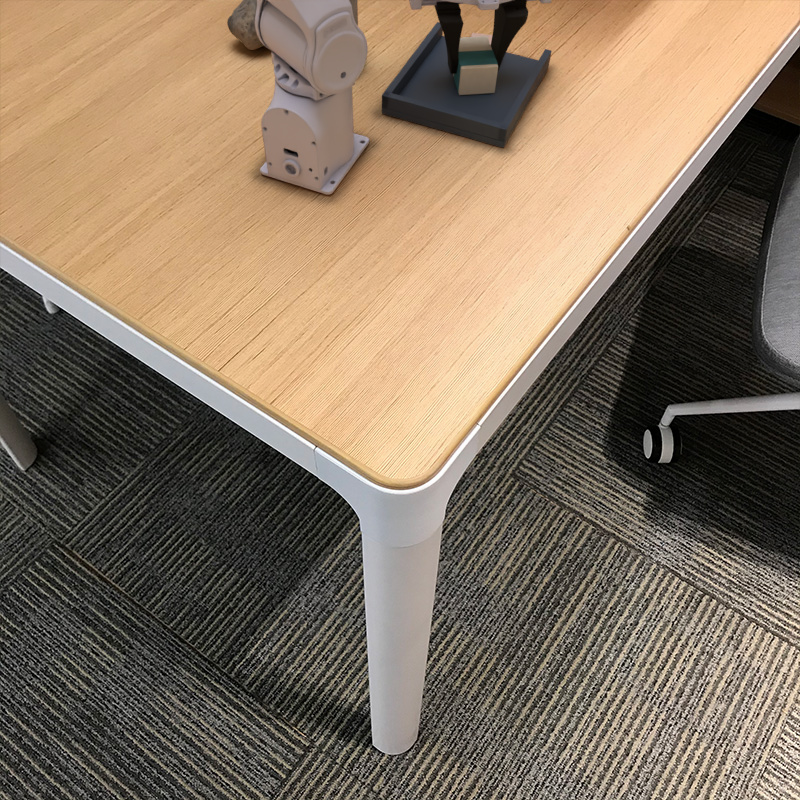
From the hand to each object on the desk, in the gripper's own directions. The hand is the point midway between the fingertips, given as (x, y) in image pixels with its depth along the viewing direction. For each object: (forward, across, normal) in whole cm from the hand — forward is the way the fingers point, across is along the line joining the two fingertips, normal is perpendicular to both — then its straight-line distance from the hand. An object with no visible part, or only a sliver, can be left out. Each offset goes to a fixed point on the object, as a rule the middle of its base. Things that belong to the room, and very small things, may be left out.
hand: (472, 67), depth 85 cm
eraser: (+1, 0, 0) cm, 1 cm away
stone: (+2, -21, +11) cm, 24 cm away
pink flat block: (+2, +3, +5) cm, 6 cm away
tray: (+2, 0, -1) cm, 2 cm away
